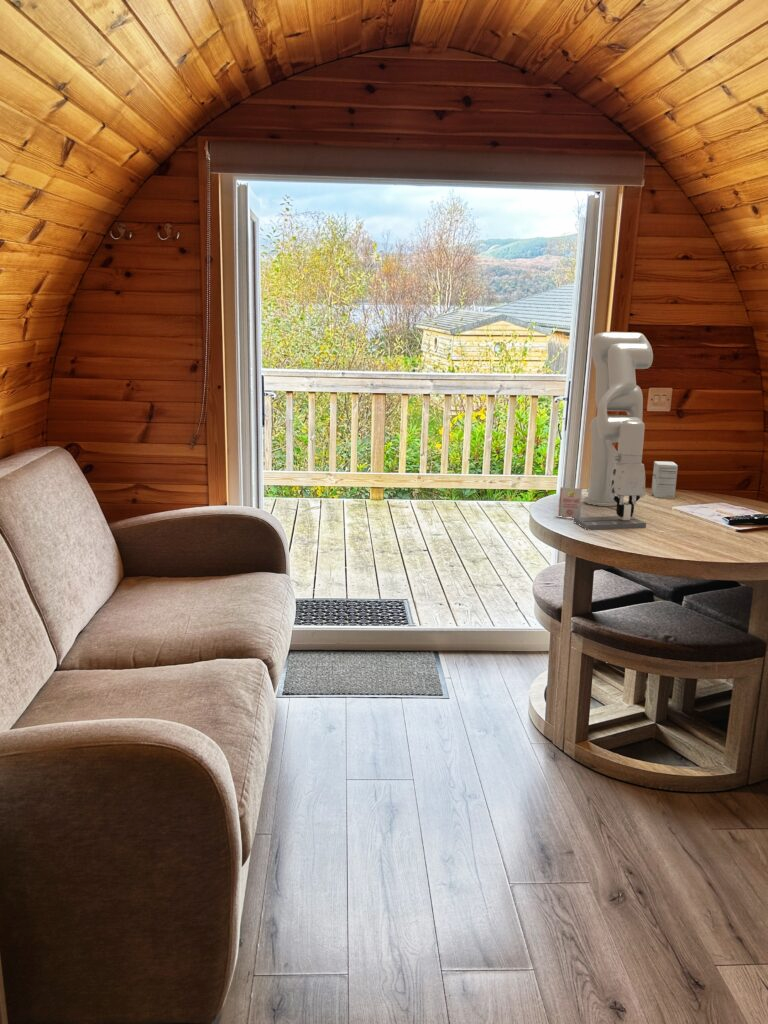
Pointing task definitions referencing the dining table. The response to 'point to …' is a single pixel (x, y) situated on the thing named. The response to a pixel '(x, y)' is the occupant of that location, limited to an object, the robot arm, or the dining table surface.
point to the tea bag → (570, 502)
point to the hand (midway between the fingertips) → (624, 515)
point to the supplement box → (664, 479)
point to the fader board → (609, 522)
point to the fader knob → (626, 511)
